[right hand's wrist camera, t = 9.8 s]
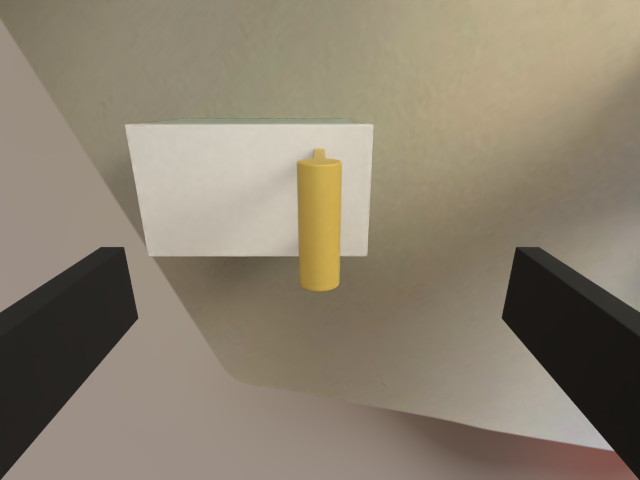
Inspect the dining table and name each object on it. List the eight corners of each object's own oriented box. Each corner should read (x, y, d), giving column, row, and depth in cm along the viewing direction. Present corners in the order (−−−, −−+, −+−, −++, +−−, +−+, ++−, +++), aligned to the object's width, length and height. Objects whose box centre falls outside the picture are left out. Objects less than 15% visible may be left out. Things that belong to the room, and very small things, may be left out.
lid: (371, 123, 24) (398, 133, 16) (365, 250, 28) (385, 314, 19) (133, 123, 24) (34, 133, 16) (155, 250, 28) (82, 315, 19)
